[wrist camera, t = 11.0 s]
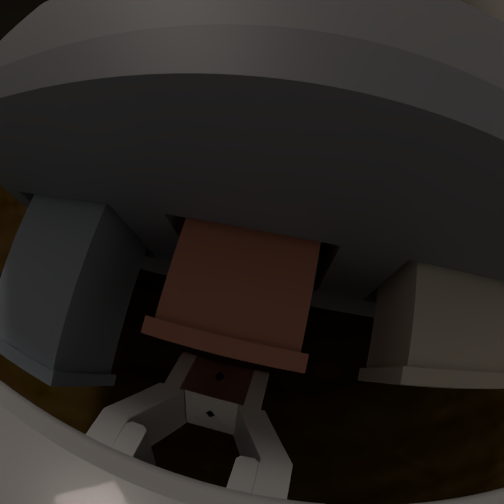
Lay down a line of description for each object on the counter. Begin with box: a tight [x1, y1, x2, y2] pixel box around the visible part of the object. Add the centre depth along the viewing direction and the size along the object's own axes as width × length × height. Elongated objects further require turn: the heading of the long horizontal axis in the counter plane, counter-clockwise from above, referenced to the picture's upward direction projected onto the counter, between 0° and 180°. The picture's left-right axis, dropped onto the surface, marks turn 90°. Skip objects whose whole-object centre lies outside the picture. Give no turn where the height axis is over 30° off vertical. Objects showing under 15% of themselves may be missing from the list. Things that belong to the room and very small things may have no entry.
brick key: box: [141, 218, 321, 373], centre depth 11 cm, size 8×4×4 cm, turn 167°
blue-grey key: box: [0, 194, 147, 386], centre depth 11 cm, size 8×4×4 cm, turn 167°
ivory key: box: [358, 260, 504, 389], centre depth 10 cm, size 8×4×4 cm, turn 167°
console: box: [0, 0, 504, 318], centre depth 11 cm, size 7×21×13 cm, turn 77°
